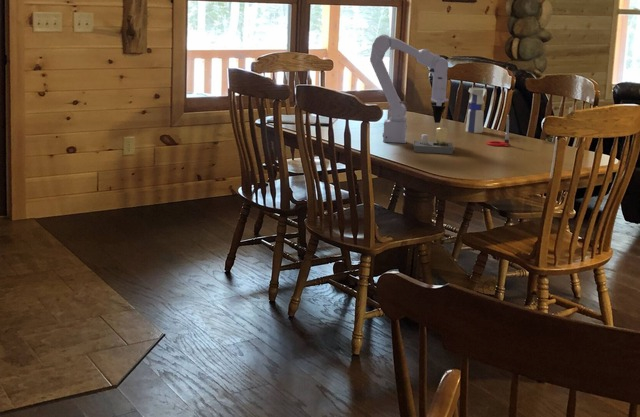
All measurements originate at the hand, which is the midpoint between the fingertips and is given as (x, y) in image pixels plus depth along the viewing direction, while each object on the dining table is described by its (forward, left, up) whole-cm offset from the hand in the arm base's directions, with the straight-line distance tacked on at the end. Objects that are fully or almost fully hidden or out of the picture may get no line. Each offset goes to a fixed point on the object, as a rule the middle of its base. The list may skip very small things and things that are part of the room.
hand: (436, 121), depth 356 cm
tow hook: (+26, +6, -10) cm, 28 cm away
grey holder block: (-2, -15, -9) cm, 18 cm away
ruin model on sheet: (-18, +37, -10) cm, 42 cm away
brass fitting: (+2, -15, -9) cm, 18 cm away
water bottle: (+19, +37, -10) cm, 43 cm away
